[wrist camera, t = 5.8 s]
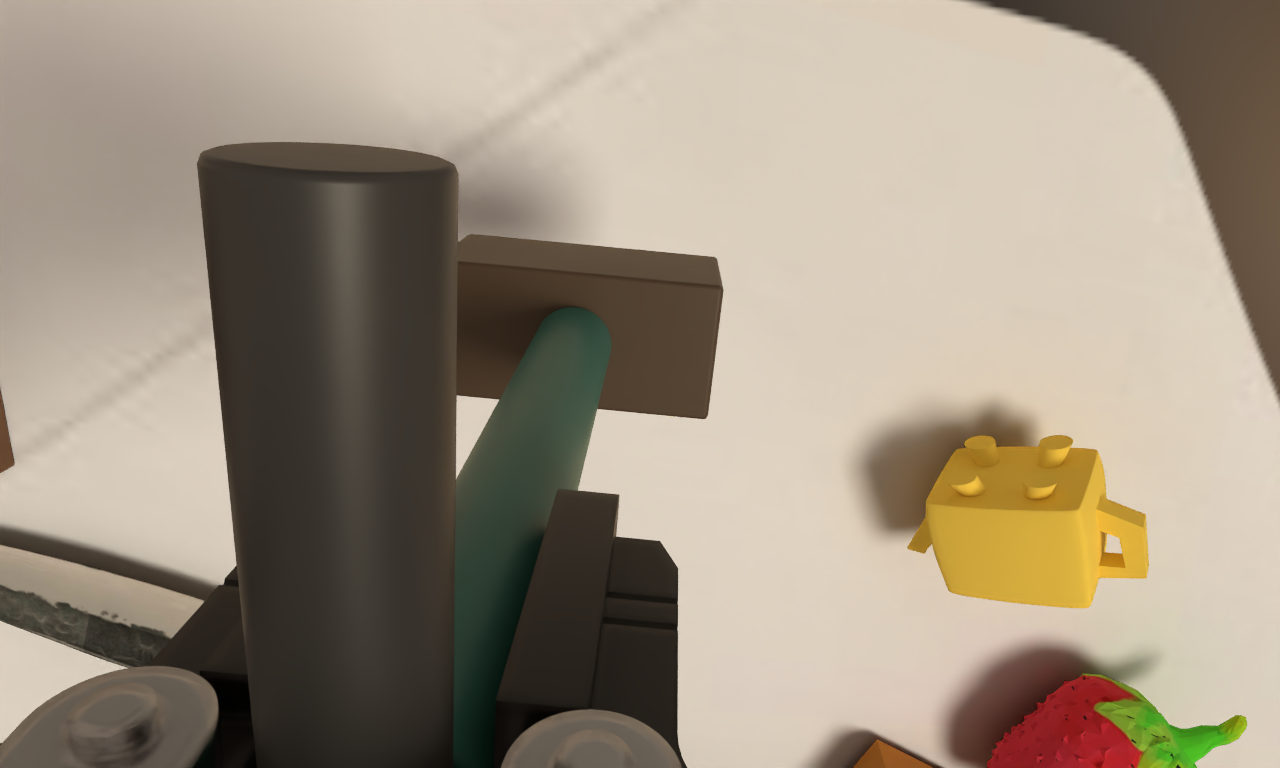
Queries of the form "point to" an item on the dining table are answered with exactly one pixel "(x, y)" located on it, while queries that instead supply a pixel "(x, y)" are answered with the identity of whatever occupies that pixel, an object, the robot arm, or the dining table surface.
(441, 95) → the dining table surface
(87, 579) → the kitchen knife
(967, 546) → the yellow studded block
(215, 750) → the robot arm
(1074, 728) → the strawberry
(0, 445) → the wooden rack
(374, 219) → the green t-shaped stand
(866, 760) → the wooden plank
